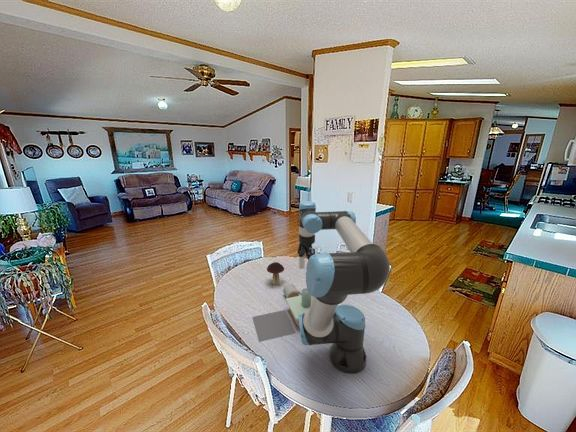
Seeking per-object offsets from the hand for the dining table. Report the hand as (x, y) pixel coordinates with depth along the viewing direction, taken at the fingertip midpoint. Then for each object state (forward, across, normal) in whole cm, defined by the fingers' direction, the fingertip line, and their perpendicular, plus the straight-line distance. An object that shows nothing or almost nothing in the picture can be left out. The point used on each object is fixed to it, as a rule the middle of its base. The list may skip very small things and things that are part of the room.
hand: (306, 274), depth 127 cm
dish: (+25, 0, 0) cm, 25 cm away
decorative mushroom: (+25, +35, +7) cm, 44 cm away
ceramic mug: (+25, +18, +1) cm, 31 cm away
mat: (+25, -1, +18) cm, 31 cm away
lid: (+19, 0, 0) cm, 19 cm away
